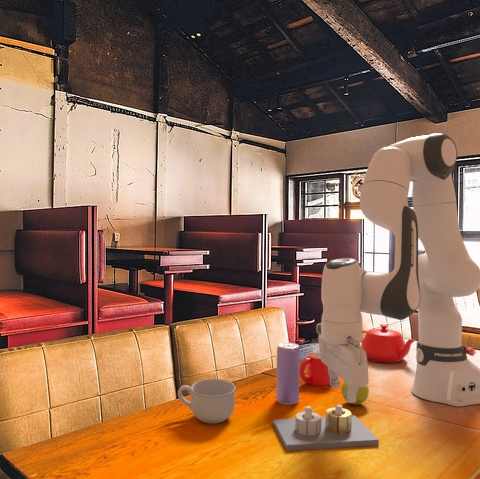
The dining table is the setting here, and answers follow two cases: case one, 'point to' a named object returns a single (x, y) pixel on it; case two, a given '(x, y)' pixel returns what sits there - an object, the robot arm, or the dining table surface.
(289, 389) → the beverage can
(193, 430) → the dining table surface
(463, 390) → the robot arm
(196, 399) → the teacup
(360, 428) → the gear board
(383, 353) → the teapot
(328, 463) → the dining table surface
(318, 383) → the mug
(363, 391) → the fruit
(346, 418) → the brass gear
